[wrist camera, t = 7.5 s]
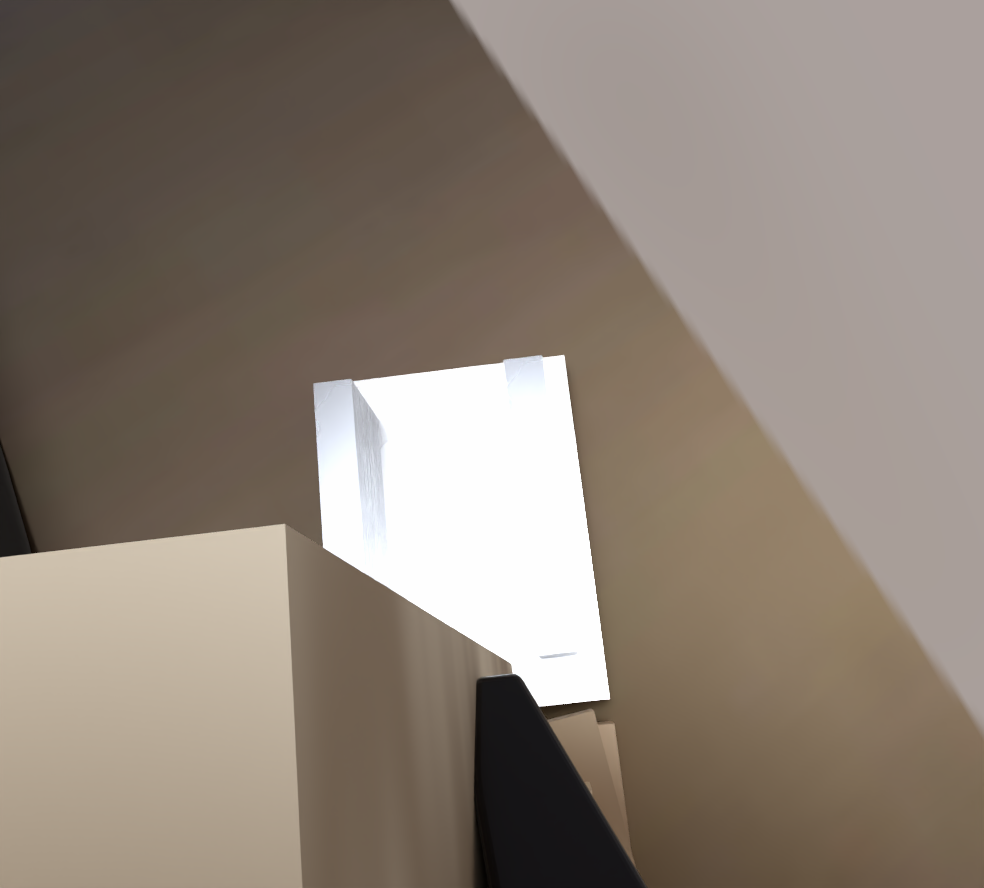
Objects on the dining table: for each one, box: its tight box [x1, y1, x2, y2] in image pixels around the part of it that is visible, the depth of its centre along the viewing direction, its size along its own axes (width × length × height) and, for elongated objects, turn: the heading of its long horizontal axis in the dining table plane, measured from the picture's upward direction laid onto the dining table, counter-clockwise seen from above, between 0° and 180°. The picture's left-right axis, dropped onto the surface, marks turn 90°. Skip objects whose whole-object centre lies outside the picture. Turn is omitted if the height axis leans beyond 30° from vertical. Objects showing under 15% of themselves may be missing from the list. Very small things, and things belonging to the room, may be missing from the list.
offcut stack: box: [547, 709, 636, 868], centre depth 19 cm, size 5×6×4 cm
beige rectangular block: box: [0, 524, 513, 888], centre depth 8 cm, size 4×2×13 cm, turn 6°
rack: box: [313, 355, 610, 706], centre depth 21 cm, size 8×6×4 cm
